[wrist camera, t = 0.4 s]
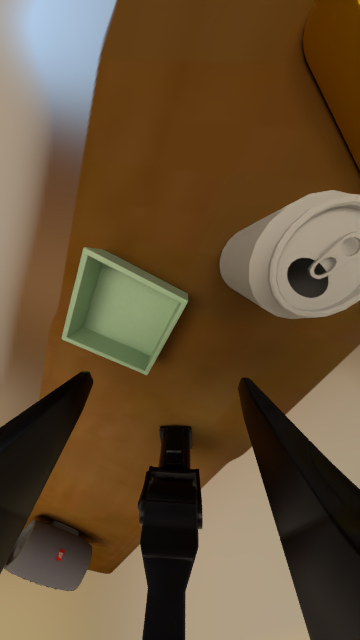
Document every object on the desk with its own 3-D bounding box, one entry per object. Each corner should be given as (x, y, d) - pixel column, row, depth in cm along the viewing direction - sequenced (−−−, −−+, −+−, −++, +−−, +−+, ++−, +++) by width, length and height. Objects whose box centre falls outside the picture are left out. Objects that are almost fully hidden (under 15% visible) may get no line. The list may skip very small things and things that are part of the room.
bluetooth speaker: (99, 536, 54) (81, 593, 45) (83, 541, 57) (62, 596, 48) (45, 510, 48) (11, 570, 39) (29, 517, 51) (-6, 574, 41)
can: (205, 267, 20) (231, 277, 8) (249, 212, 17) (364, 125, 6) (247, 302, 21) (314, 350, 10) (292, 255, 19) (448, 250, 8)
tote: (152, 358, 25) (147, 375, 22) (80, 326, 24) (61, 339, 20) (188, 293, 21) (188, 301, 17) (103, 249, 19) (83, 246, 16)
